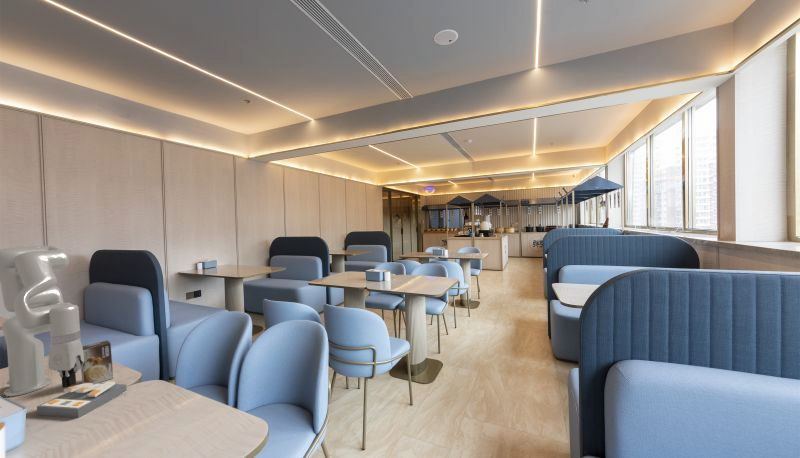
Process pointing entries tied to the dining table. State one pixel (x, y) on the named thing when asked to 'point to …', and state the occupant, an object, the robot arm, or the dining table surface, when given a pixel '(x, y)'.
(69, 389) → the rocker
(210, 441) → the dining table surface
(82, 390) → the rocker
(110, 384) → the rocker
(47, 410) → the switch unit
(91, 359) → the coffee box
